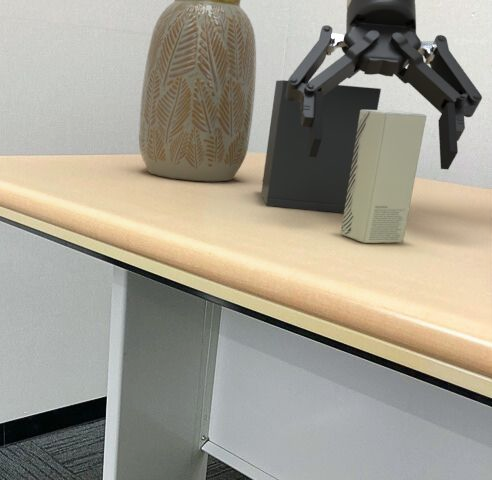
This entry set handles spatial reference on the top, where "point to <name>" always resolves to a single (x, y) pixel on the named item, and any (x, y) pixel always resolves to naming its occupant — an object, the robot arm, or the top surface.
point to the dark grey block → (329, 154)
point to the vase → (198, 91)
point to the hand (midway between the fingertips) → (381, 154)
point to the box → (382, 175)
